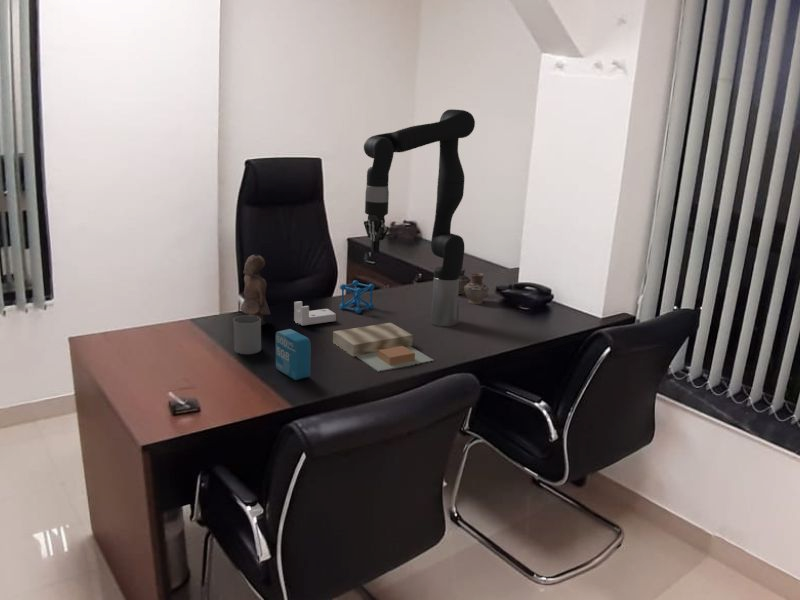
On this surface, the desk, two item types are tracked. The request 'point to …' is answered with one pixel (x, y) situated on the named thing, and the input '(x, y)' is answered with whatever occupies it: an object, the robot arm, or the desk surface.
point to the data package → (293, 354)
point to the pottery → (472, 287)
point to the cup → (247, 334)
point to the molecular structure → (356, 296)
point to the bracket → (311, 315)
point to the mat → (382, 366)
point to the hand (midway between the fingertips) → (375, 251)
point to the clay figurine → (254, 289)
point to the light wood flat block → (371, 338)
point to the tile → (396, 355)
